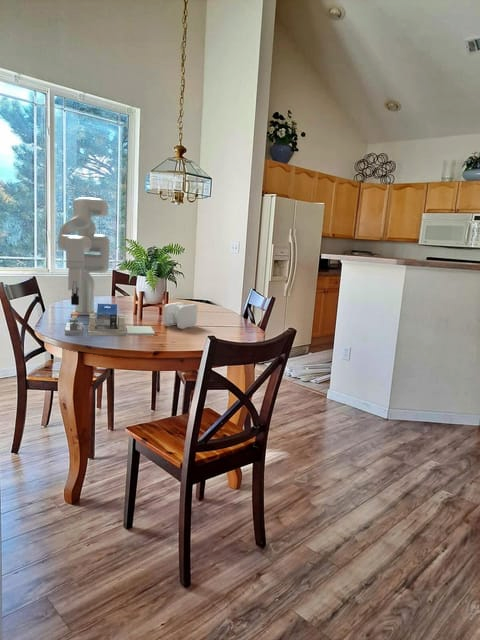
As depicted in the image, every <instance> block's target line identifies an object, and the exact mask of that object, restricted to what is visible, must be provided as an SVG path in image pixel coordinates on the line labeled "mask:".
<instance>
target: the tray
mask: <svg viewBox="0 0 480 640" xmlns="http://www.w3.org/2000/svg"><path fill="white" fill-rule="evenodd" d="M125 331H126V335H128V336H129V335H130V336H131V335H134V336H135V335H137V336H139V335H140V336H141V335H142V336H143V335H145V336H147V335H149V336H154V335H155V334H156V333H155V331H154V329H153V328H152V326H151V325H149V326H148V325H147V326H145V325H143V326H141V325H125Z"/></svg>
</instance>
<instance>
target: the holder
mask: <svg viewBox="0 0 480 640" xmlns="http://www.w3.org/2000/svg"><path fill="white" fill-rule="evenodd" d="M88 321H89V323H88V324H87V327H88V328H87V330H88V331H87V335H88V336H126V335H127V331H126V327H125V315H124V314H117V329H97V323H96V314H90V315H89V320H88Z"/></svg>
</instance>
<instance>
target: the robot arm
mask: <svg viewBox="0 0 480 640" xmlns="http://www.w3.org/2000/svg"><path fill="white" fill-rule="evenodd" d="M72 208H73V212H72V218H71V219H68V220H67V221H65V222H64V223H63V225H62V226H61V227H60V229H59V233H58V236H57V247H58V248H59V249H60V250H61V251H63V252H65V253H66V254H65V255H66V257H65V258H66V259H65V267H66V269H68V276H67V277H68V281H67V282H68V283H67V285H68V288H67V291H70V290H71V296H70V298H71V299H70V303H71V305H72V306H74V309H72V311H71V312H73V313H79V315H78V316H90V314H95V315H97V309H96V310H95V280H94V277H93V276H92V275H91V273H94V274H95V273H96V274H106V273H107V272H108V271H109V265H110V239H109V237H108V236H107V235H105V234H98V233H97V234H96V224H95V222H94V221H93V219H92V216H93V217H100V218H101V217H103V218H105V217H106V216H107V215H108V211H109V206H108V202H107V201H106V200H105V199H102V198H96V197H87V196H85V197H84V196H83V197H81V196H80V197H78V198H75V199H74V200H73V201H72ZM73 233H77V234H73ZM90 253H92V254H90ZM93 253H98V254H93Z"/></svg>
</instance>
